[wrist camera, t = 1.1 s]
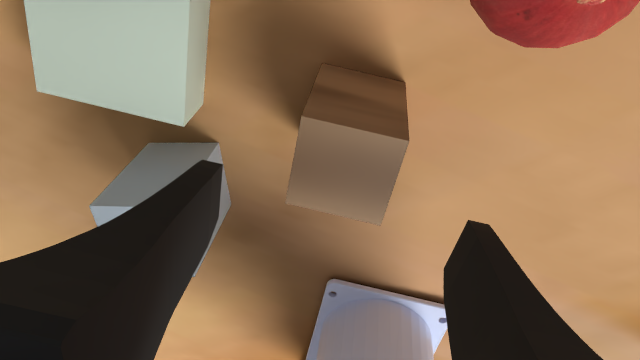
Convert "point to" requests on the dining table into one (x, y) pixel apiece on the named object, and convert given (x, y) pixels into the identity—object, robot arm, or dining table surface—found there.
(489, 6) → the onion
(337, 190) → the walnut post
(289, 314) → the dining table surface
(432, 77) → the dining table surface
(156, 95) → the sage slab
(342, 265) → the dining table surface
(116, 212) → the bluegrey post
